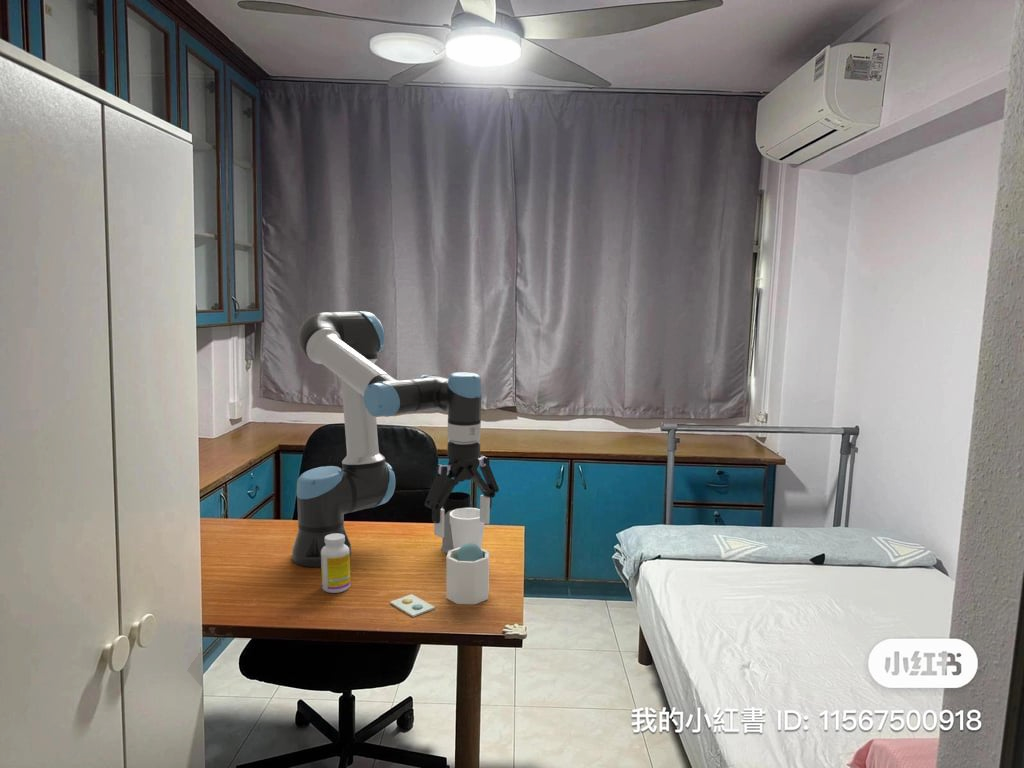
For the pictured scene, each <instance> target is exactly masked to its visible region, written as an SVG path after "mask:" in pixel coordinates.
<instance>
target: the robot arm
mask: <svg viewBox="0 0 1024 768" xmlns="http://www.w3.org/2000/svg"><path fill="white" fill-rule="evenodd" d="M297 335H298V337H297V341H298V346H299V348H300V350H301V351H302V353H303V354H304V356H305V357H307V359H309V360H311V362H313V363H315V364H318V365H323V366H324V367H325V368H327V369H329V371H330V372H332V373H334V375H336V376H337V377H338V378H340V381H341V394H342V395H341V396H342V407H343V421H344V431H345V445H346V456H345V457H344V458H343V460H341V465H342V468H341V467H339V466H336V465H326V466H319V467H315V468H311V469H309V470H306V471H304V472H303V473H301V474H300V475H299V477H298V479H297V482H296V483H297V484H296V497H297V498H296V500H297V502H296V503H297V522H298V523H297V524H298V525H297V526H298V530H297V533H296V536H295V537H296V538H295V541H294V544H293V547H292V550H291V551H292V552H291V553H292V556H291V557H292V562H293V563H294V564H296V565H299V566H302V567H306V568H307V567H309V568H321V550H322V548H323V547H324V546H326V544H325V536H327V535H329V534H334V533H339V534H343V535H345V542H344V544H345V545H347V546H348V547H349V553H350V557H351V556H352V545H351V542H350V540H349V536H348V535H347V532H346V529H345V524H344V523H345V522H344V519H345V517H344V515H346V514H348V513H349V514H351V513H354V512H357V511H362V510H365V509H371V508H372V509H373V508H376V507H378V506H380V505H384V504H386V503H388V502H389V501H390V499H391V498H392V496H393V495H394V493H395V489H396V476H395V471H393V467H392V466H391V465H390V464H389V462H387V461H386V458H385V456H384V455H383V454H381V453H380V450H379V438H378V426H377V424H378V423H377V417H386V418H387V417H391V416H396V415H402V414H409V413H416V412H422V411H430V410H439V411H443V412H447V439H448V441H447V451H446V453H447V458H448V463H447V464H445V465H442V464H440V463H439V464H438V463H437V466H436V470H435V471H436V473H435V475H434V478H433V481H432V483H431V486H430V488H429V491H428V493H427V496H426V498H425V500H424V506H425V507H426V508H429V509H431V520H432V521H431V522H432V523H433V526H434V527H433V528H434V530H433V531H434V533H433V534H434V535H435V536H437V537H439V538H441V539H442V537H444V509H443V505H444V503H445V502H446V500H447V498H448V497H449V495H450V493H451V492H453V490H454V488H455V487H456V486H457V485H458V484H459V483H461V482H464V481H466V480H467V481H470V480H471V481H473V483H474V484H475V485H476V486H477V487H478V489H479V490H480V491H481V492H482V494H480V495H479V496H480V497H479V509H480V522H483V523H485V524H484V525H489V524H490V516H491V515H490V514H491V513H490V511H491V510H490V509H492V507H493V506H492V504H493V503H492V501H493V498H495V497H496V493H498V492H499V491H500V488H499V486H498V484H497V481H496V478H495V476H494V474H493V471H492V467H491V466H490V463H491V462H490V458H489V457H486V456H484V455H481V441H479V440H481V430H482V429H481V426H482V425H481V423H482V420H481V419H482V395H483V391H482V390H483V389H482V378H481V376H480V375H479V374H477V373H475V372H464V371H459V372H458V371H457V372H453V373H450V374H449V375H448V377H447V378H446V377H442V376H439V375H438V376H437V375H436V374H422V375H421V376H418V378H412V379H402V380H401V379H400V380H397V379H396V378H394V377H392V376H391V375H389V374H388V373H387V372H386V371H384V370H383V369H382V368H380V367H379V366H378V365H376V364H375V363H376V362H377V361H378V353H380V352H382V350H383V349H384V345H385V343H386V336H385V331H384V327H383V325H382V322H381V321H380V319H379V318H378V317H377V316H376V315H375V314H374V313H372V312H370V311H359V310H355V311H354V310H353V311H331V312H328V311H327V312H326V311H325V312H323V311H322V312H318V313H315V314H312V315H311V316H309V317H308V318H306V319H305V321H304V322H303V323H302V324H301V326H300V328H299V330H298V334H297ZM478 468H479V469H480V471H481V473H482V474H481V473H480V471H478ZM482 476H483V477H482Z"/></svg>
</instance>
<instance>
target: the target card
mask: <svg viewBox="0 0 1024 768" xmlns="http://www.w3.org/2000/svg"><path fill="white" fill-rule="evenodd" d="M389 604H391V605H393V606H394V607H395V608H397V609H399V610H401V611H402V612H404V613H405V614H407V615H409V616H411V617H413V618H414V617H417V616H420V615H423V614H425V613H427V612H430V611H434V610H435V609H436V607H435V606H434V605H432V604H430V603H428V602H426V600H423V599H422V598H420V597H418V596H416V595H414V594H412V593H411V594H408V595H405V596H402V597H400V598H396V599H394V600H391V601H390V602H389Z"/></svg>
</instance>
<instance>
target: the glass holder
mask: <svg viewBox="0 0 1024 768" xmlns="http://www.w3.org/2000/svg"><path fill="white" fill-rule="evenodd" d="M459 508H471V494H470V493H467V492H463V491H452V492H451V493H450V495H449V497H448V498H447V500H446V502H445V503H444V505H443V507H442V509H444V537H442V538H441V539H442V542H441V543H442V544H441V546H440V551H441V552H442V553H444V554H448V551H449V550H453V549H454V547H453V539H452V532H451V524H450V512H451V511H453V510H455V509H459Z"/></svg>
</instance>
